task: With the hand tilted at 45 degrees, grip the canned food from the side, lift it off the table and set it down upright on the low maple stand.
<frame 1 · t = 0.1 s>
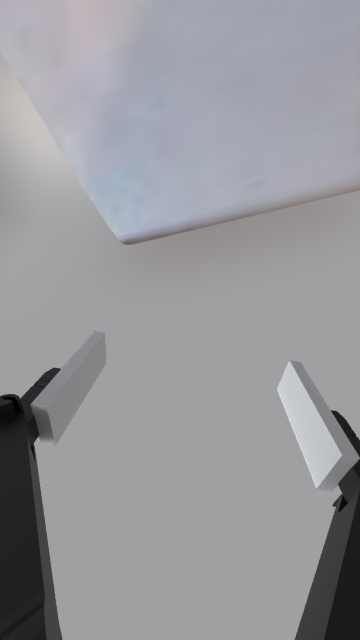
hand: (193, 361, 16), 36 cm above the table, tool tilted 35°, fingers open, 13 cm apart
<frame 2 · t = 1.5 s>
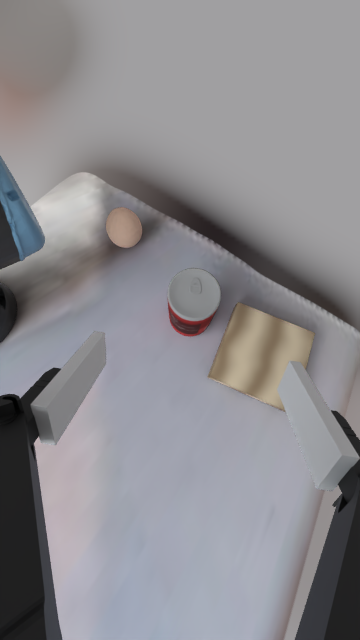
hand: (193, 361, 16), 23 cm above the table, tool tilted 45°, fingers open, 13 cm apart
canned food: (189, 316, 42), on the table
maple stand: (257, 356, 40), on the table
egg: (128, 241, 46), on the table
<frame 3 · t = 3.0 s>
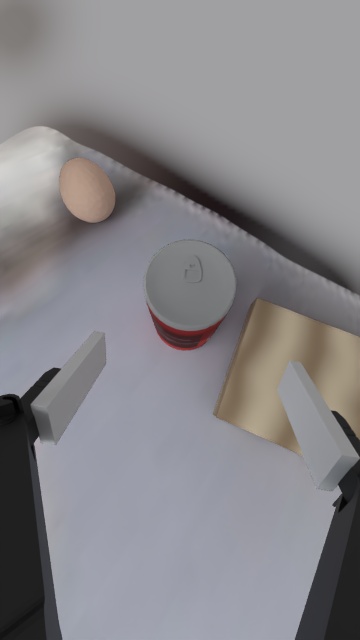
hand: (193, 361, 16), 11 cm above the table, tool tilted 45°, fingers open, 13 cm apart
canned food: (184, 320, 29), on the table
maple stand: (287, 379, 26), on the table
egg: (98, 215, 33), on the table
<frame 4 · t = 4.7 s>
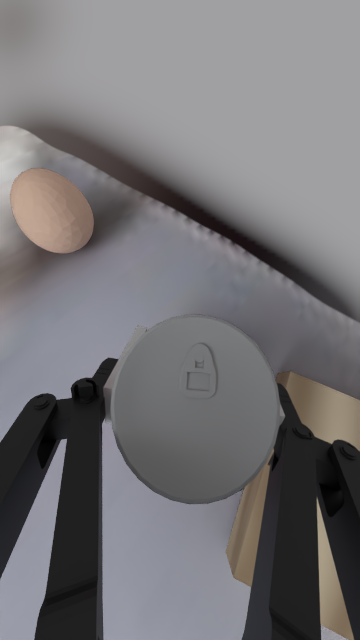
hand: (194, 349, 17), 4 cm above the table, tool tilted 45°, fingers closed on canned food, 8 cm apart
canned food: (185, 393, 20), on the table, touching gripper
maple stand: (333, 489, 18), on the table
egg: (74, 241, 25), on the table
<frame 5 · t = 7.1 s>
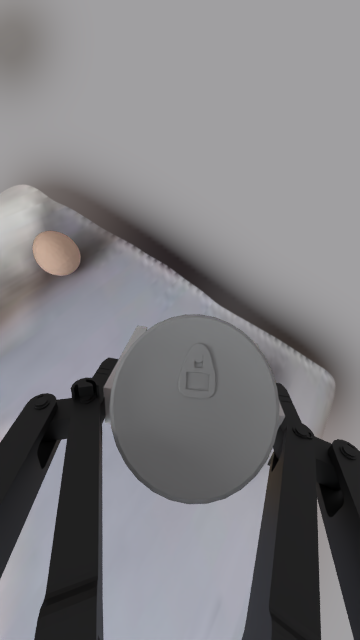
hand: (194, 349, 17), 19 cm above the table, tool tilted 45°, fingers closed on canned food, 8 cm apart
canned food: (185, 393, 20), point 15 cm above the table, touching gripper
egg: (68, 266, 40), on the table
when the fingers open (9 cm above the table, at t = 9.6 s): canned food drops 1 cm, resting on maple stand.
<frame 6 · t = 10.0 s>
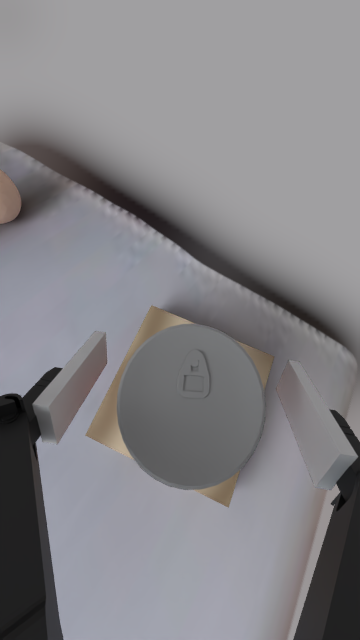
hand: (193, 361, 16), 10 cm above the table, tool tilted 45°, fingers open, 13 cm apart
canned food: (184, 394, 22), point 3 cm above the table, touching maple stand
maple stand: (184, 393, 25), on the table
egg: (9, 216, 32), on the table
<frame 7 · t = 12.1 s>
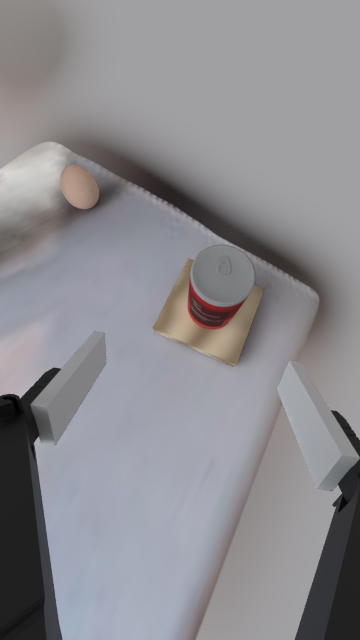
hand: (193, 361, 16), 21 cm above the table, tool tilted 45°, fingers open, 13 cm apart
canned food: (210, 308, 36), point 3 cm above the table, touching maple stand
maple stand: (208, 313, 39), on the table
egg: (88, 205, 47), on the table
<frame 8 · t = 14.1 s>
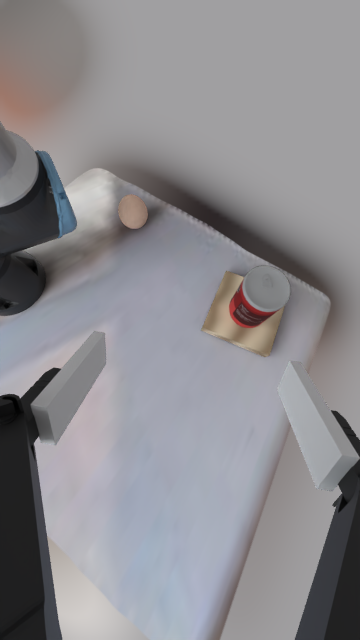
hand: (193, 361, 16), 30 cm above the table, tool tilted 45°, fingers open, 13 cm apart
canned food: (246, 310, 46), point 3 cm above the table, touching maple stand
maple stand: (242, 315, 49), on the table
egg: (136, 224, 56), on the table
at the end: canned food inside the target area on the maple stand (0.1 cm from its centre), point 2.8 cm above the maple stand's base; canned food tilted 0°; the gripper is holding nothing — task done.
